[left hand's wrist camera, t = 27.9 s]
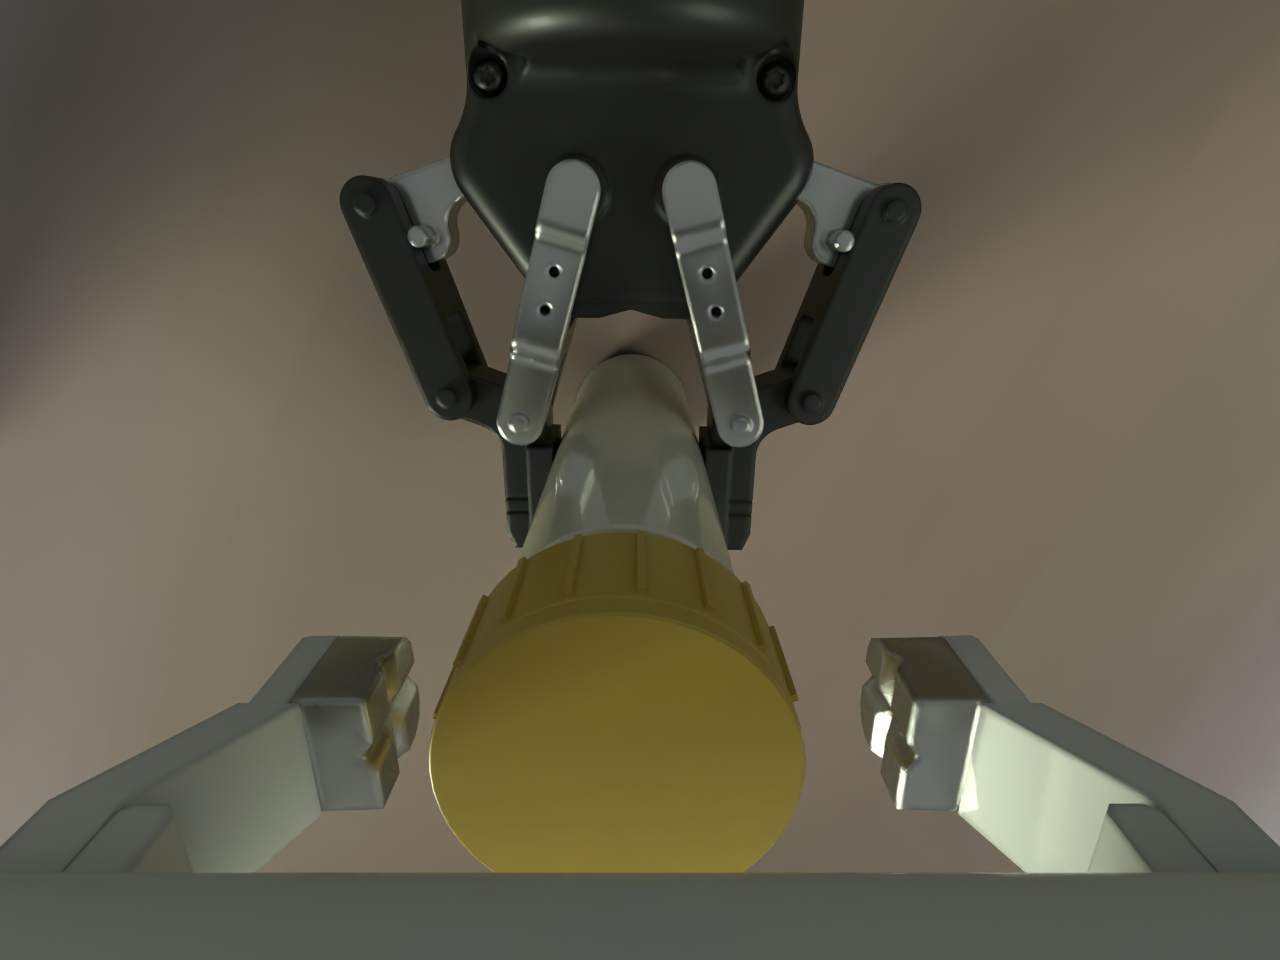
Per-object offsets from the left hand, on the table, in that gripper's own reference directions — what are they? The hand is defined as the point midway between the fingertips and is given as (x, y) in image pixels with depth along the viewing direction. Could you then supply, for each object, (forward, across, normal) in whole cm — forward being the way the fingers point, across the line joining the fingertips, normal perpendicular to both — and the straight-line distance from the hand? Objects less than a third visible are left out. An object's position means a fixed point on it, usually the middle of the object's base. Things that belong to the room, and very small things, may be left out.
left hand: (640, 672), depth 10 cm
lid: (-2, 0, 0) cm, 2 cm away
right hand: (+9, 0, -3) cm, 10 cm away
